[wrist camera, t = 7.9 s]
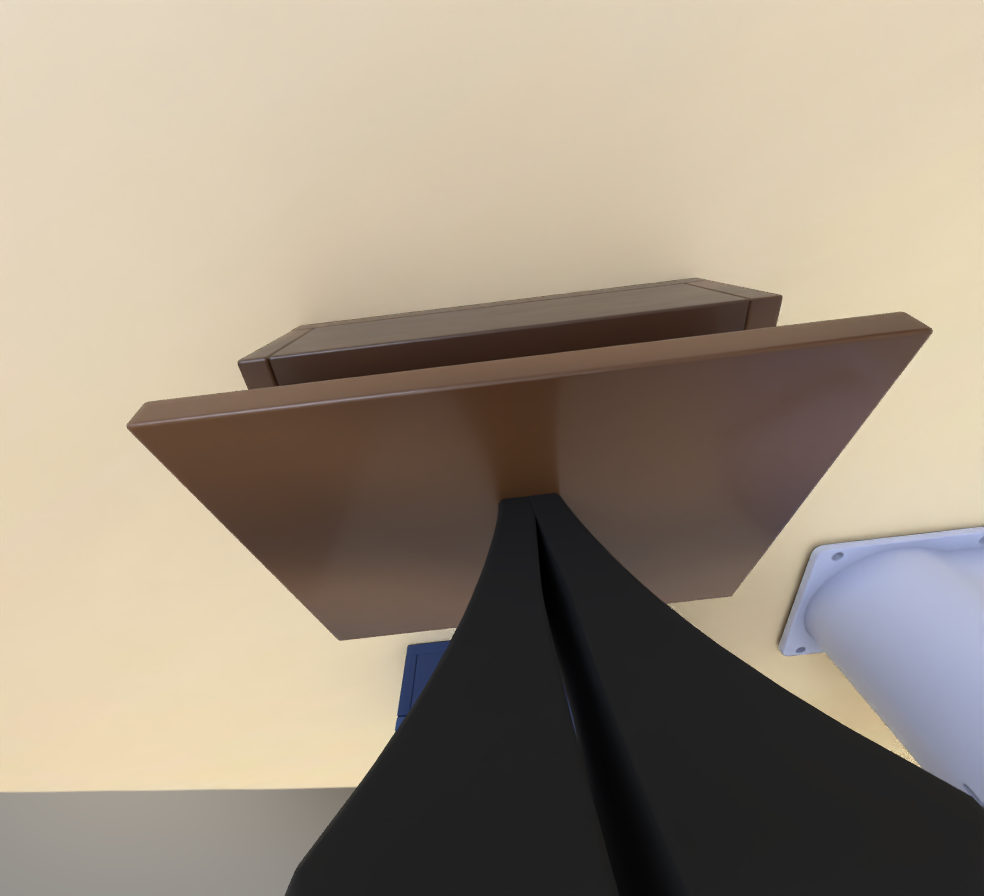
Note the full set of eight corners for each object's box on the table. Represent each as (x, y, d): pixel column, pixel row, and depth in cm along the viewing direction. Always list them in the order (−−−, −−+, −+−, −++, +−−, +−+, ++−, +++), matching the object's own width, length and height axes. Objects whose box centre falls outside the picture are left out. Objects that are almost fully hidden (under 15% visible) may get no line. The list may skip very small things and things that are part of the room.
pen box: (299, 325, 14) (234, 361, 10) (697, 277, 14) (784, 294, 10) (369, 541, 18) (343, 621, 15) (669, 506, 18) (721, 578, 14)
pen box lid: (143, 400, 7) (121, 426, 7) (903, 309, 7) (938, 329, 7) (342, 621, 14) (338, 641, 14) (722, 578, 14) (732, 596, 14)
